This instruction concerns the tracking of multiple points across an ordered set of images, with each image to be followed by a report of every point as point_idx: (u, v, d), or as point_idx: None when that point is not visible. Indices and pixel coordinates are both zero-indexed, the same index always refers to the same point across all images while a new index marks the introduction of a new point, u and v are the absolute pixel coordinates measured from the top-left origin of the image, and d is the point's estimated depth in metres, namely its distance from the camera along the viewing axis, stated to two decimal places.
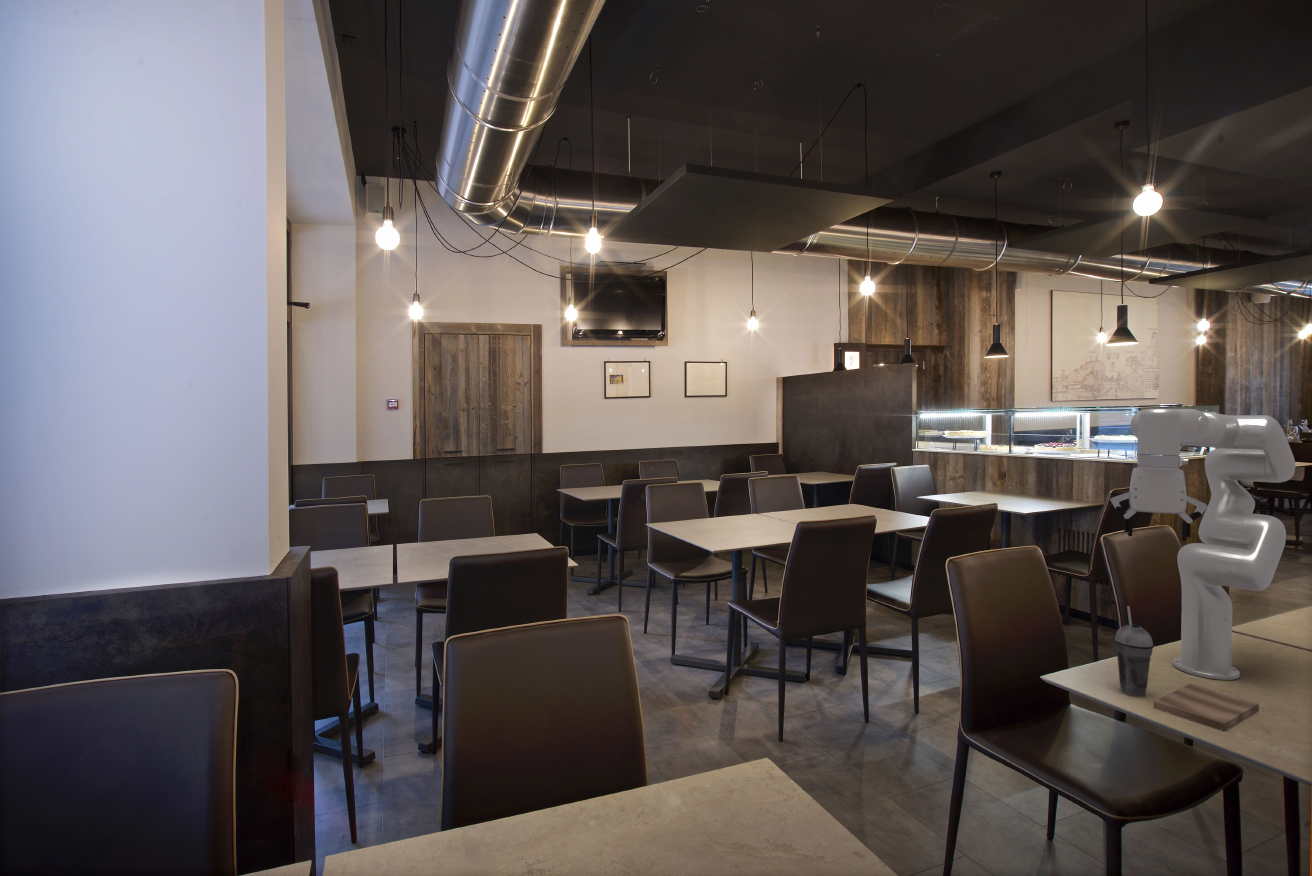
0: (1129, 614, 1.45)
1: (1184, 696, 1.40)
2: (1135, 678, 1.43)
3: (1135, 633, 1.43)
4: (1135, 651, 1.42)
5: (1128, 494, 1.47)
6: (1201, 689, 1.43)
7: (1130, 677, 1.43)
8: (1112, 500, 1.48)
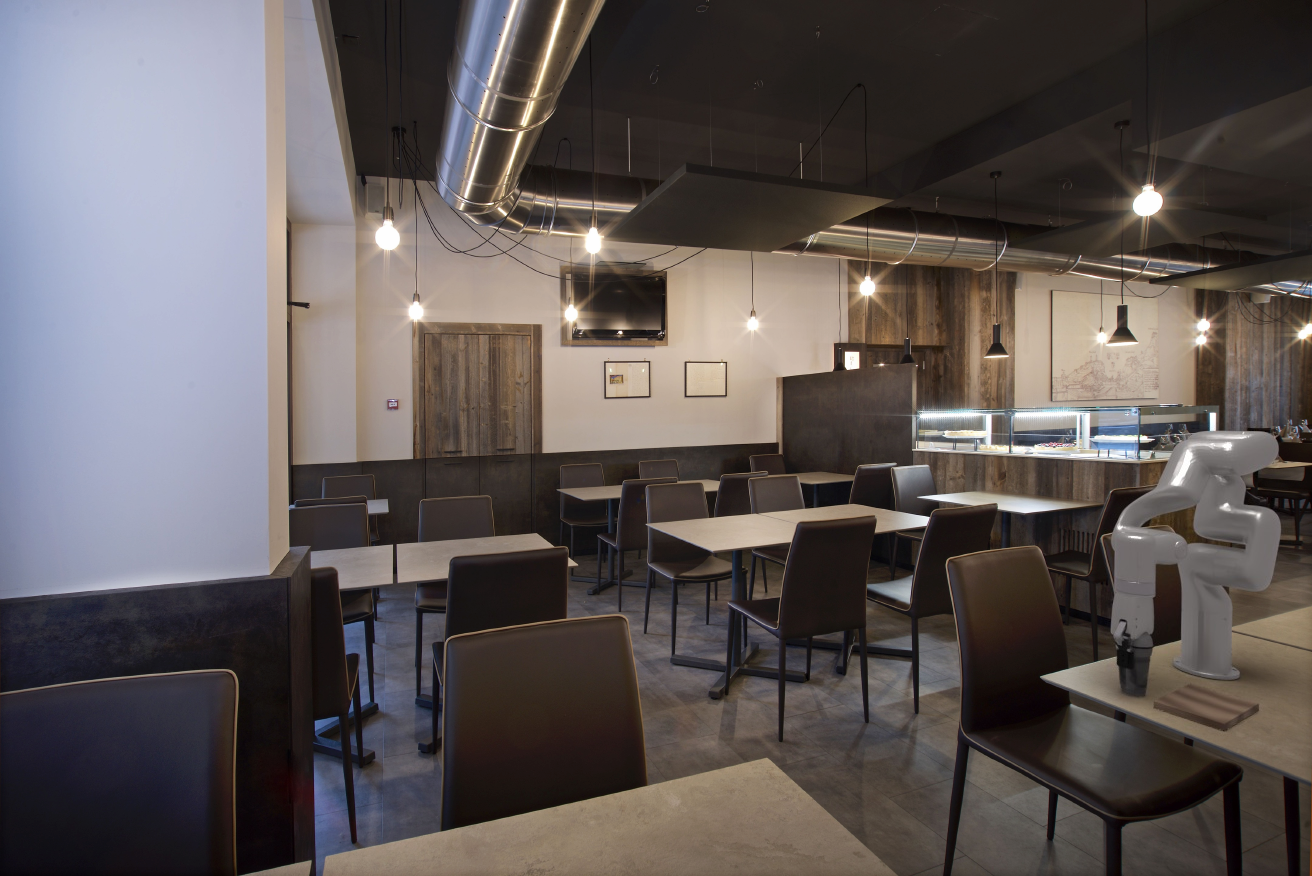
0: None
1: (1184, 696, 1.40)
2: (1135, 678, 1.43)
3: None
4: (1135, 651, 1.42)
5: (1126, 625, 1.42)
6: (1201, 689, 1.43)
7: (1130, 677, 1.43)
8: (1120, 637, 1.40)
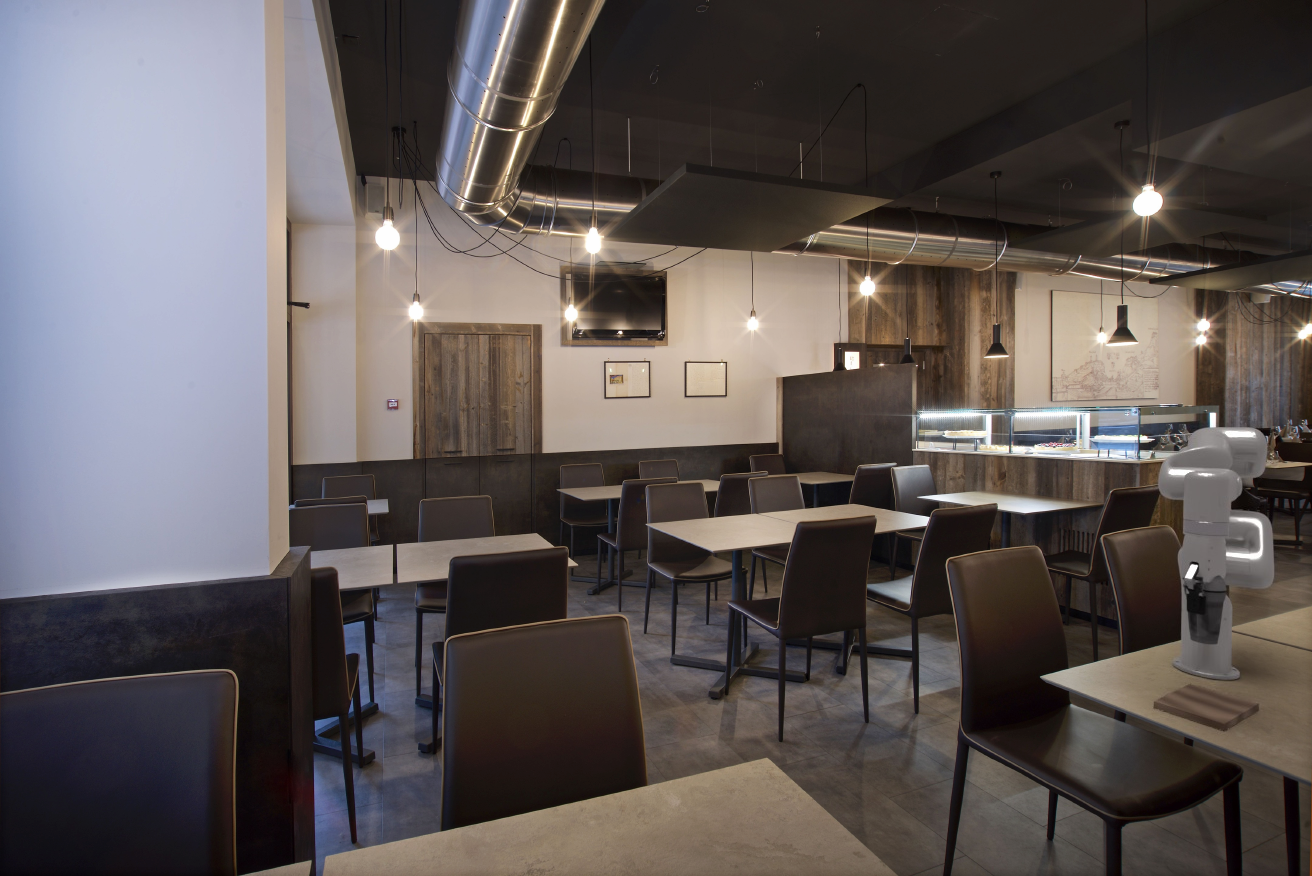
0: None
1: (1184, 696, 1.40)
2: (1207, 624, 1.35)
3: None
4: (1207, 595, 1.34)
5: (1198, 568, 1.33)
6: (1201, 689, 1.43)
7: (1201, 623, 1.35)
8: (1192, 580, 1.32)
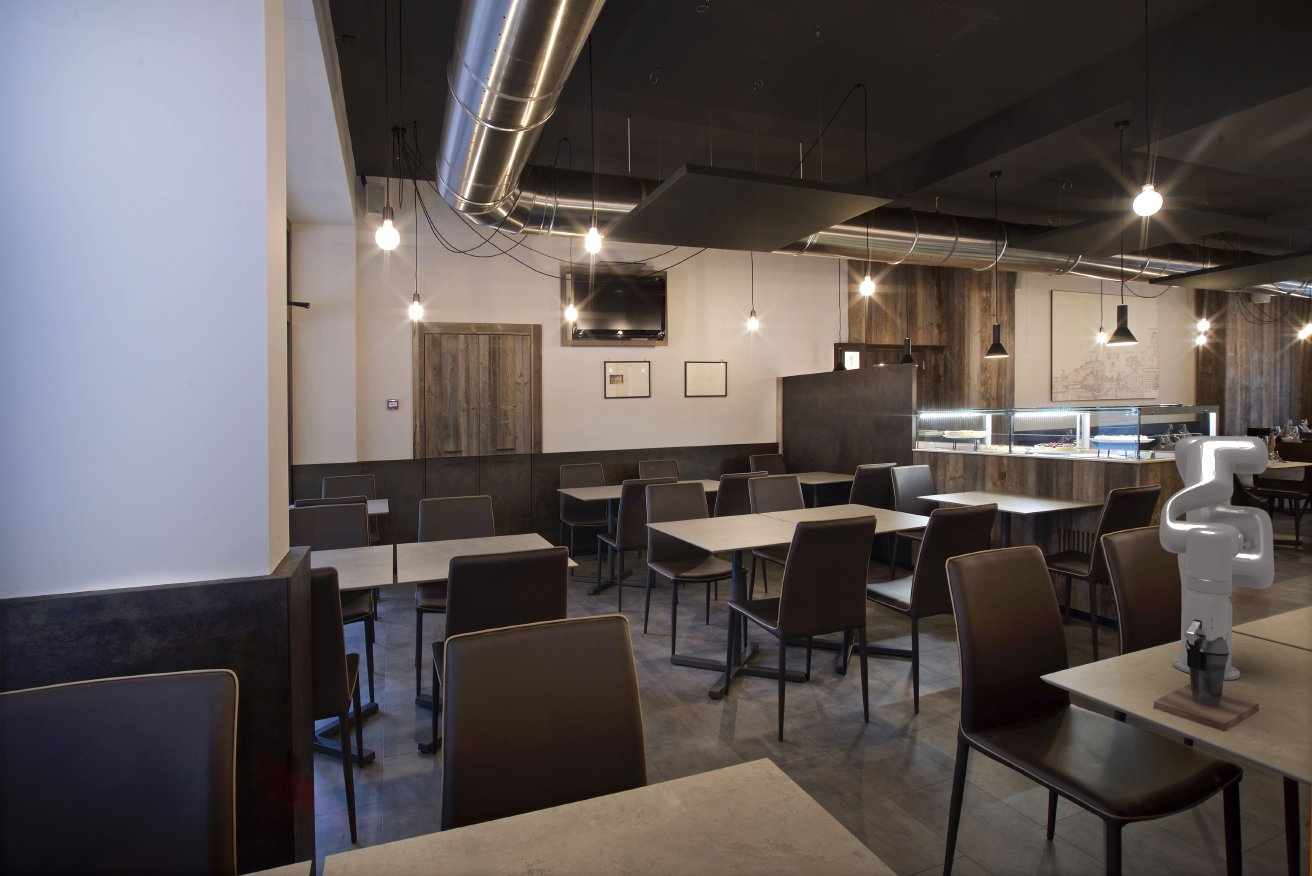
0: None
1: (1184, 696, 1.40)
2: (1209, 687, 1.35)
3: None
4: (1210, 658, 1.34)
5: (1200, 625, 1.33)
6: None
7: (1203, 685, 1.35)
8: (1194, 635, 1.32)
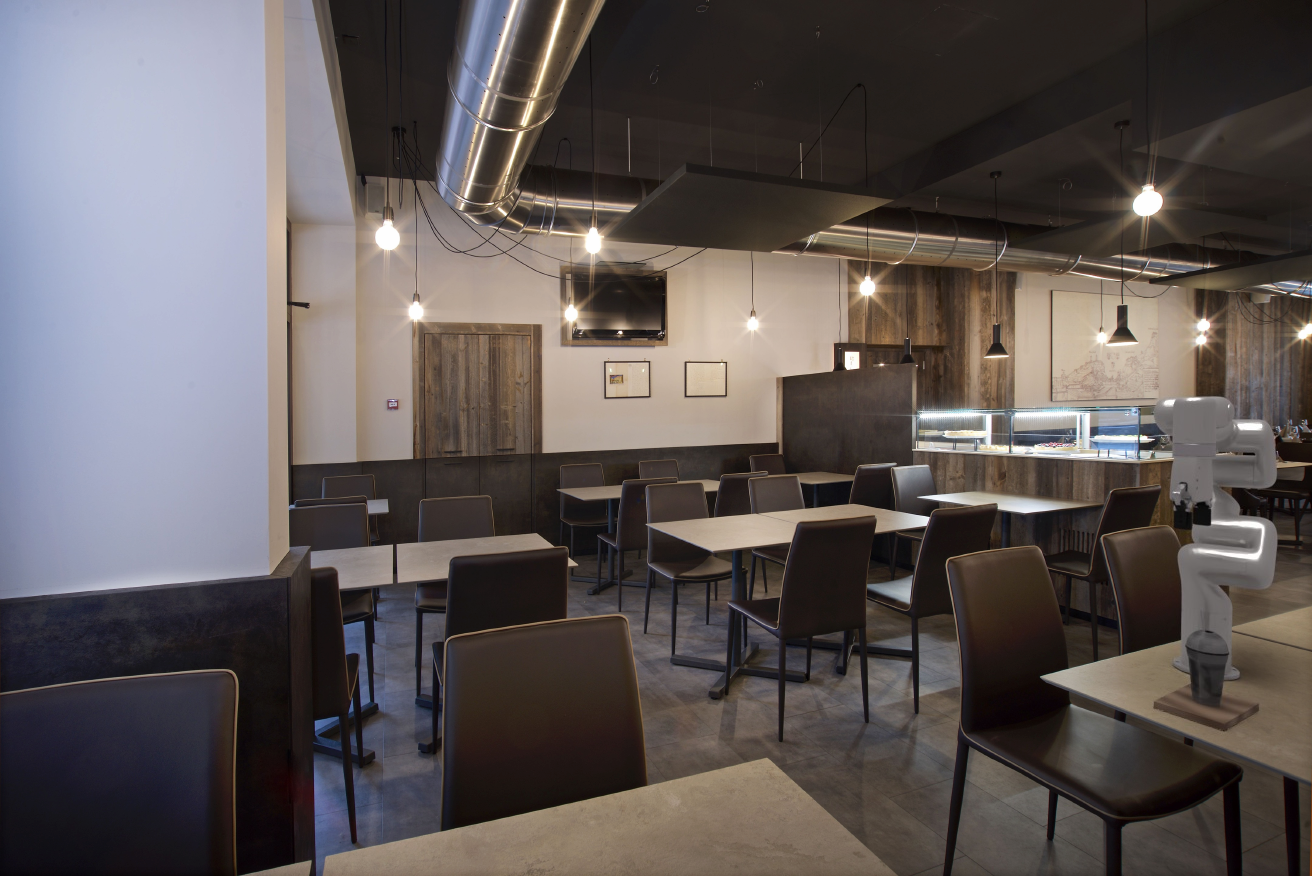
0: (1202, 619, 1.36)
1: (1184, 696, 1.40)
2: (1209, 687, 1.35)
3: (1209, 639, 1.35)
4: (1210, 658, 1.34)
5: (1186, 486, 1.40)
6: None
7: (1203, 685, 1.35)
8: (1179, 494, 1.38)
